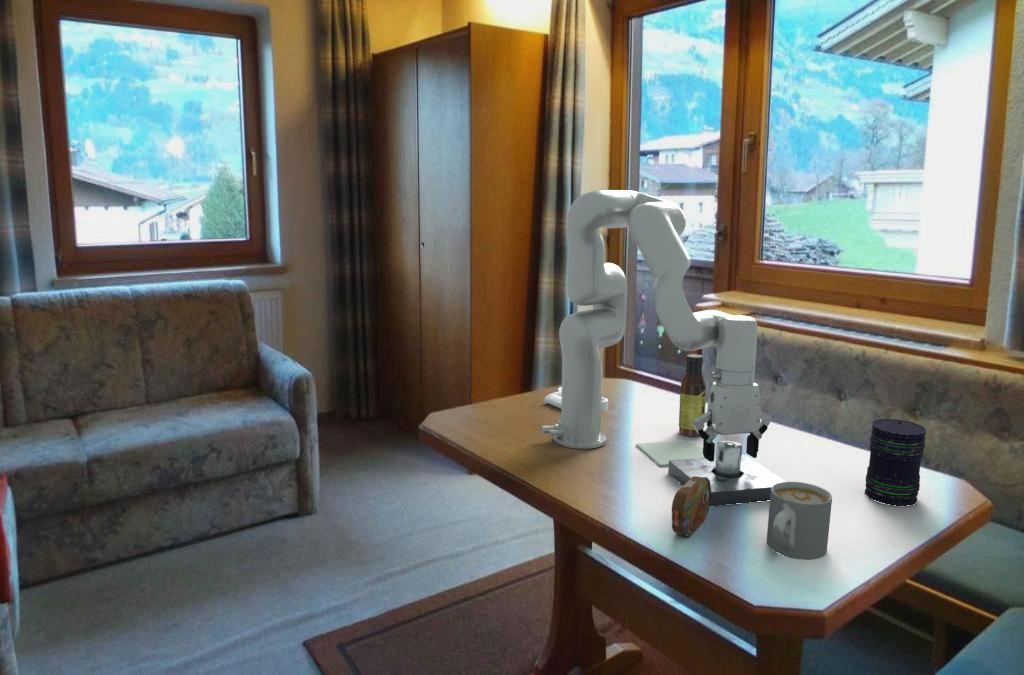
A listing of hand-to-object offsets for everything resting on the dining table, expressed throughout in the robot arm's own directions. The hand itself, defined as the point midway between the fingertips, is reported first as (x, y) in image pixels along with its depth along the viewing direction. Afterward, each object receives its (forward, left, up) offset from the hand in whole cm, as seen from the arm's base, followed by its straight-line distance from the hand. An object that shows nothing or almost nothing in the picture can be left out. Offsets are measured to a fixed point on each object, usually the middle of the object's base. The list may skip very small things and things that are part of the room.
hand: (730, 457), depth 163 cm
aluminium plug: (0, 0, -6) cm, 6 cm away
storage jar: (+30, -12, -7) cm, 33 cm away
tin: (-16, -16, -7) cm, 24 cm away
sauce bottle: (+8, +33, -7) cm, 35 cm away
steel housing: (0, 0, -6) cm, 6 cm away
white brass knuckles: (-12, +62, -7) cm, 64 cm away
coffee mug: (-3, -28, -7) cm, 29 cm away
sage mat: (-2, +20, -6) cm, 21 cm away
